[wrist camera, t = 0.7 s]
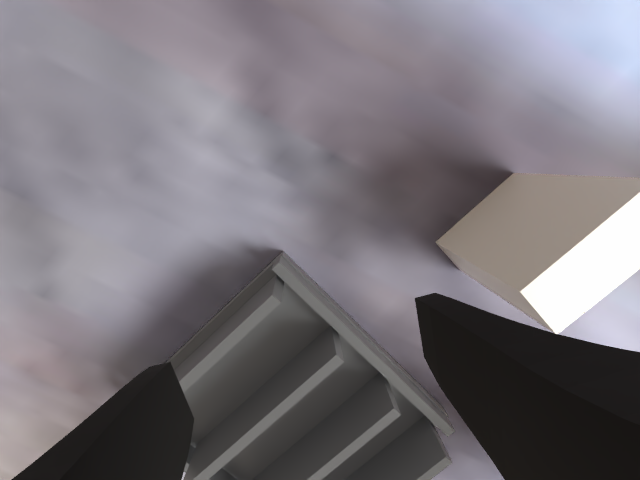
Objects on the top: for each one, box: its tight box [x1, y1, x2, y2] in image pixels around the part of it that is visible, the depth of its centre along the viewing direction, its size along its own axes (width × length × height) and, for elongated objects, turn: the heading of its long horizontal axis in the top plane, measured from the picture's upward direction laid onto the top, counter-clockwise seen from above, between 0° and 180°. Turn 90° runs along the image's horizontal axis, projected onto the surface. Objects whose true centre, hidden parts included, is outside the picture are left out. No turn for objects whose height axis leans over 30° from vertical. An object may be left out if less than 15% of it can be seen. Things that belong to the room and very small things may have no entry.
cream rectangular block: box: [435, 173, 640, 334], centre depth 16 cm, size 2×6×8 cm, turn 133°
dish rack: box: [166, 252, 455, 480], centre depth 20 cm, size 16×14×4 cm
